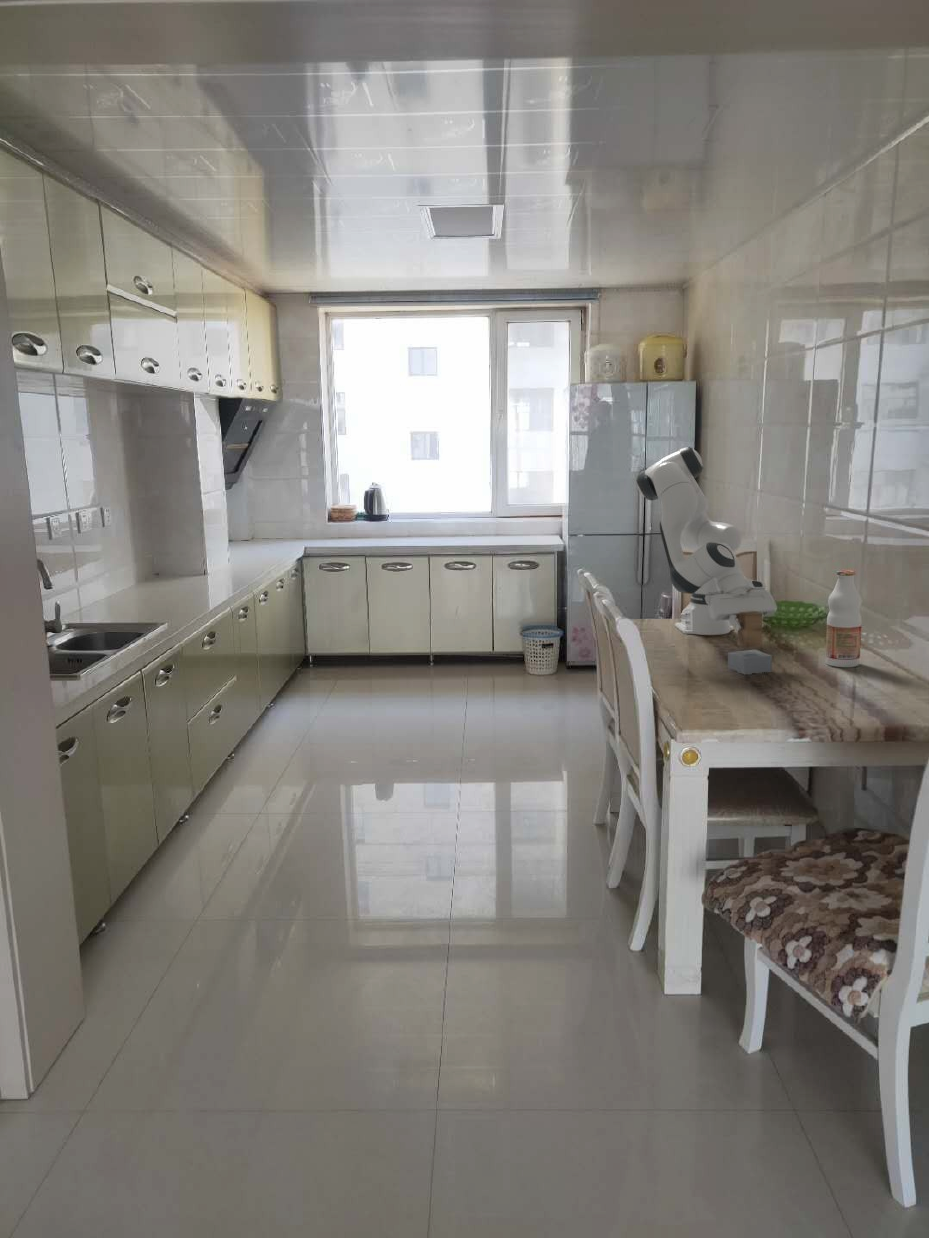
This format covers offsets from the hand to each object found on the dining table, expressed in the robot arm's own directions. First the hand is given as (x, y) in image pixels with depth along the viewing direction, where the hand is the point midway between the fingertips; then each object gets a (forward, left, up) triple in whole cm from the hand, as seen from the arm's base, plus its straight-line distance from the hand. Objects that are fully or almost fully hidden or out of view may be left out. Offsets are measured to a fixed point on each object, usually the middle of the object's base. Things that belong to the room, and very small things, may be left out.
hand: (750, 628), depth 264 cm
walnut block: (-1, 0, -5) cm, 5 cm away
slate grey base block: (-1, 0, -13) cm, 13 cm away
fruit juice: (+3, +28, -13) cm, 31 cm away
